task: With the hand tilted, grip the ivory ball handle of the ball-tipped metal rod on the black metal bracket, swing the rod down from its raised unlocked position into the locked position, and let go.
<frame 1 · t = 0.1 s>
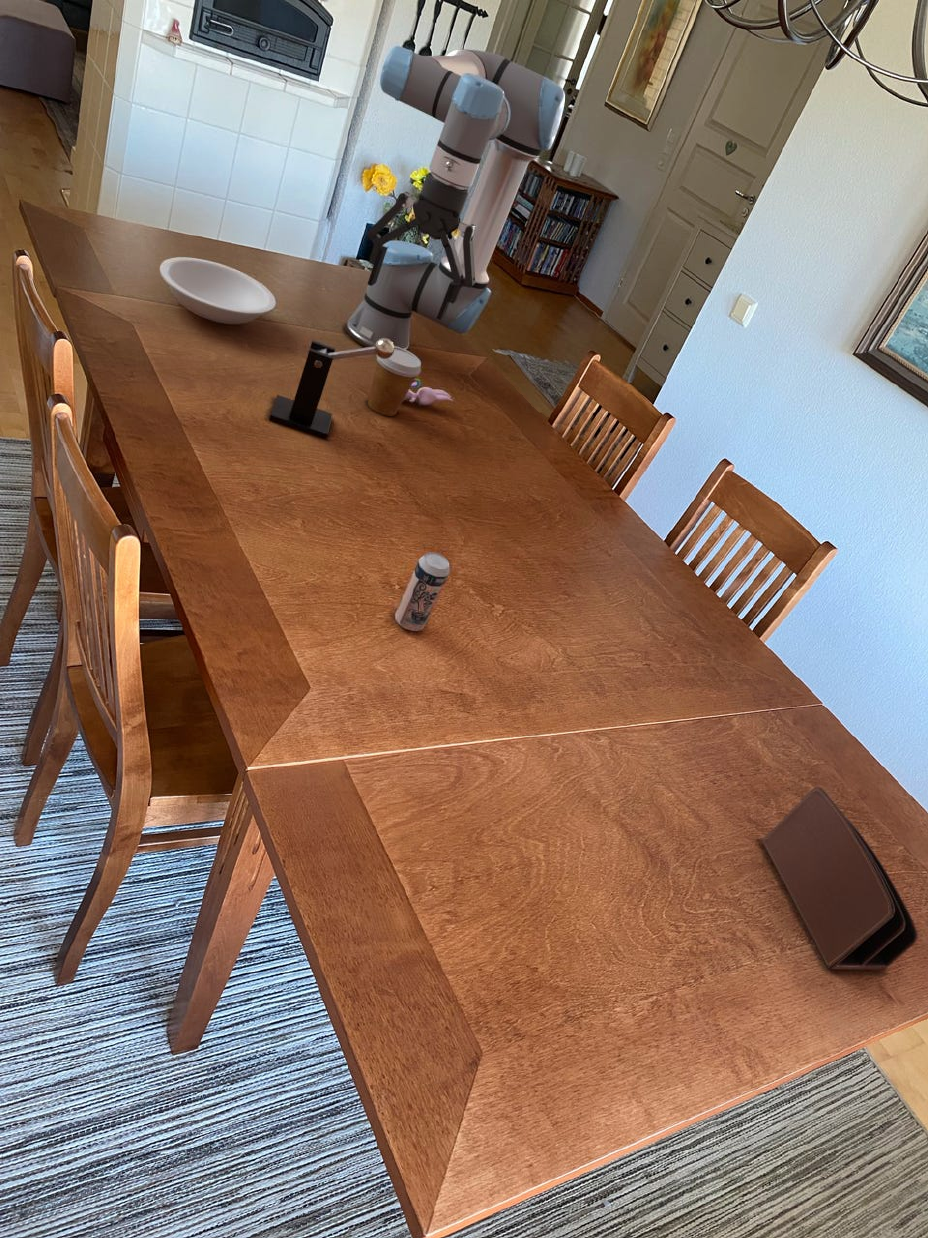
hand: (405, 300, 165), 28 cm above the table, tool pointing down, fingers open, 13 cm apart
ball-tipped metal rod: (353, 353, 168), point 16 cm above the table, hinge at 30.0°
rabbit figure: (416, 404, 202), on the table
disposable coffee cup: (381, 408, 194), on the table
soup bowl: (212, 314, 197), on the table
bracket: (300, 419, 176), on the table
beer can: (408, 623, 140), on the table
letter holder: (818, 904, 127), on the table
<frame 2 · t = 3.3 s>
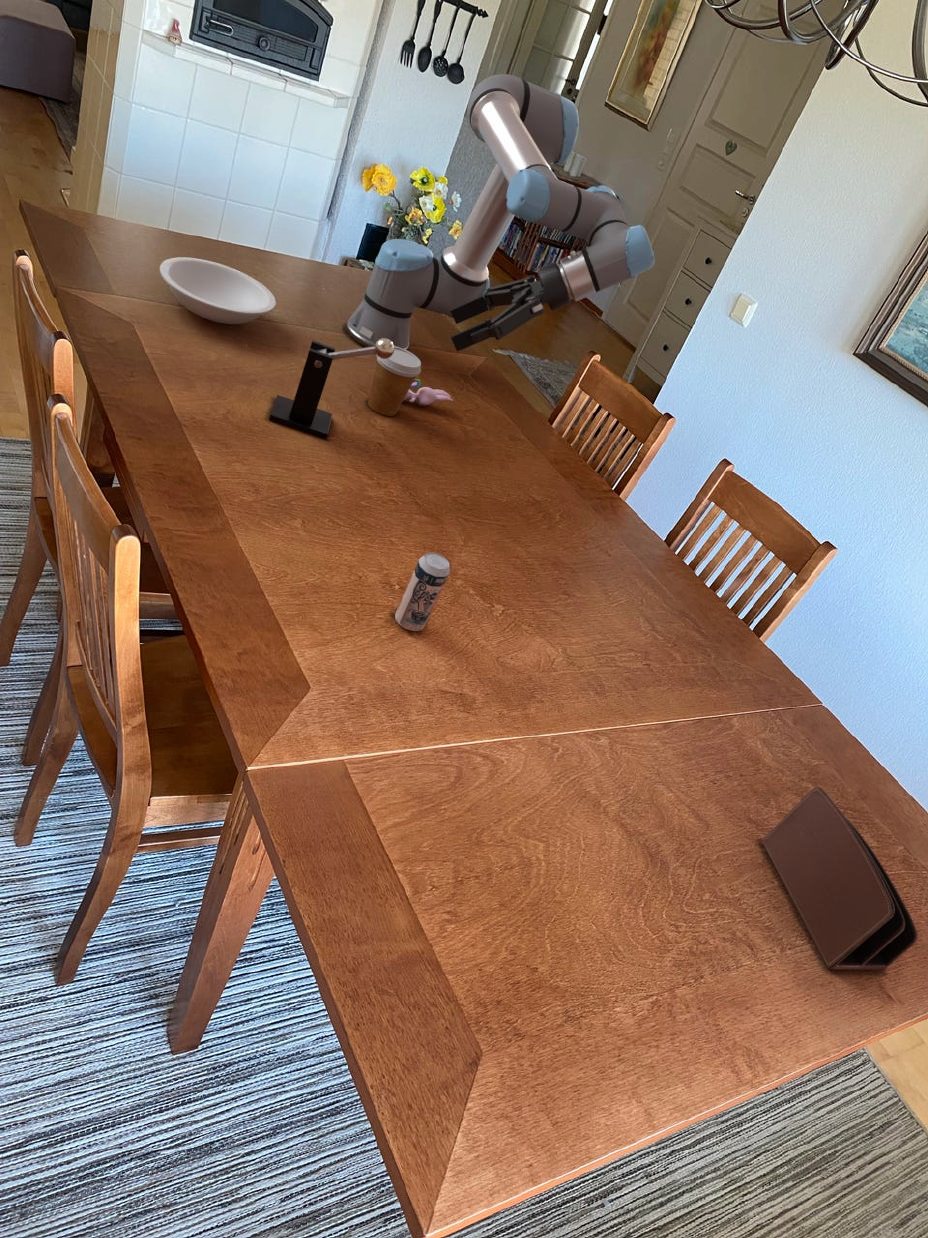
hand: (453, 329, 166), 27 cm above the table, tool tilted 45°, fingers open, 13 cm apart
nothing on the table moved.
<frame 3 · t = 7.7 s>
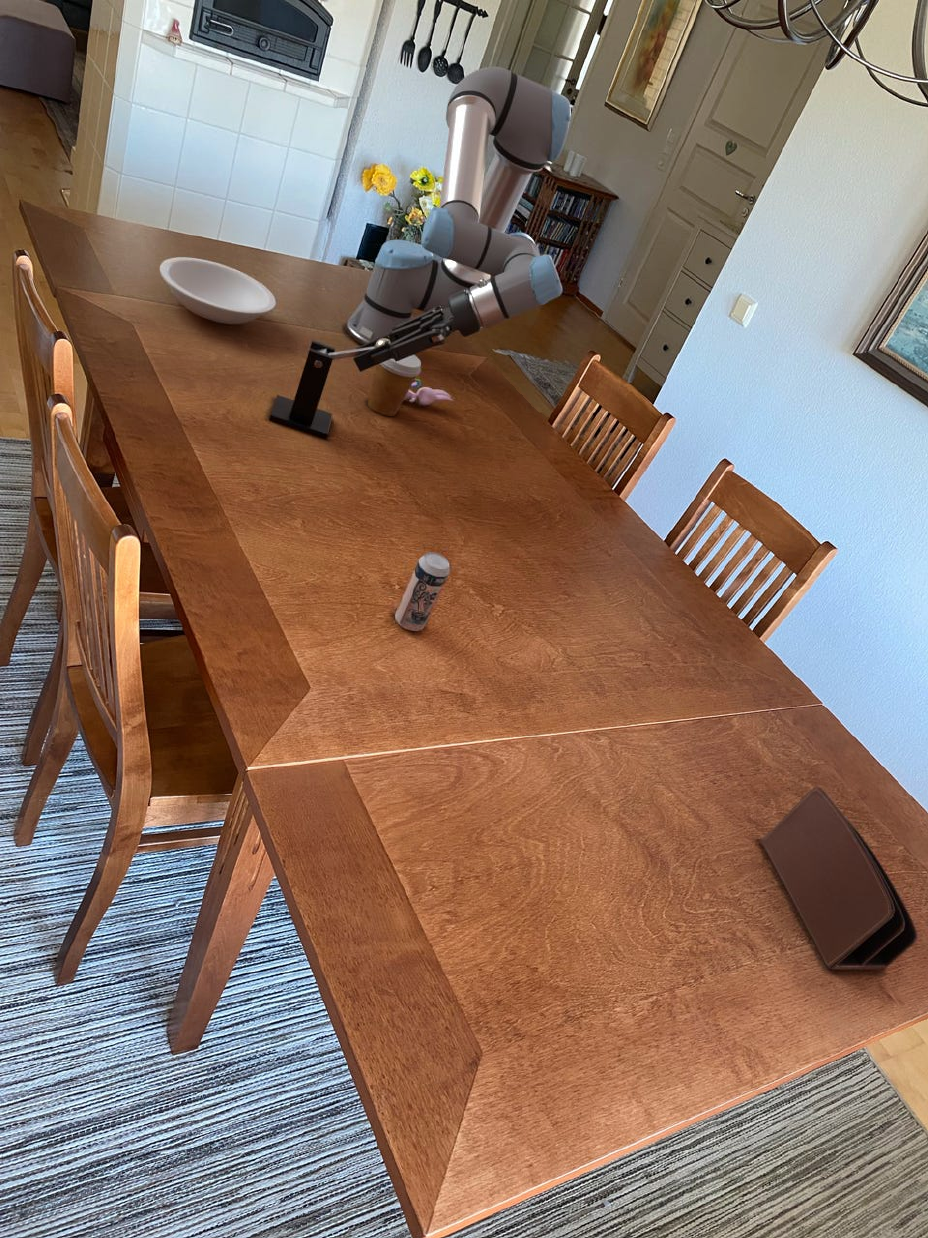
hand: (357, 359, 169), 15 cm above the table, tool tilted 45°, fingers closed on ball-tipped metal rod, 4 cm apart
ball-tipped metal rod: (353, 353, 168), point 16 cm above the table, hinge at 30.0°, touching gripper
everything else where it was.
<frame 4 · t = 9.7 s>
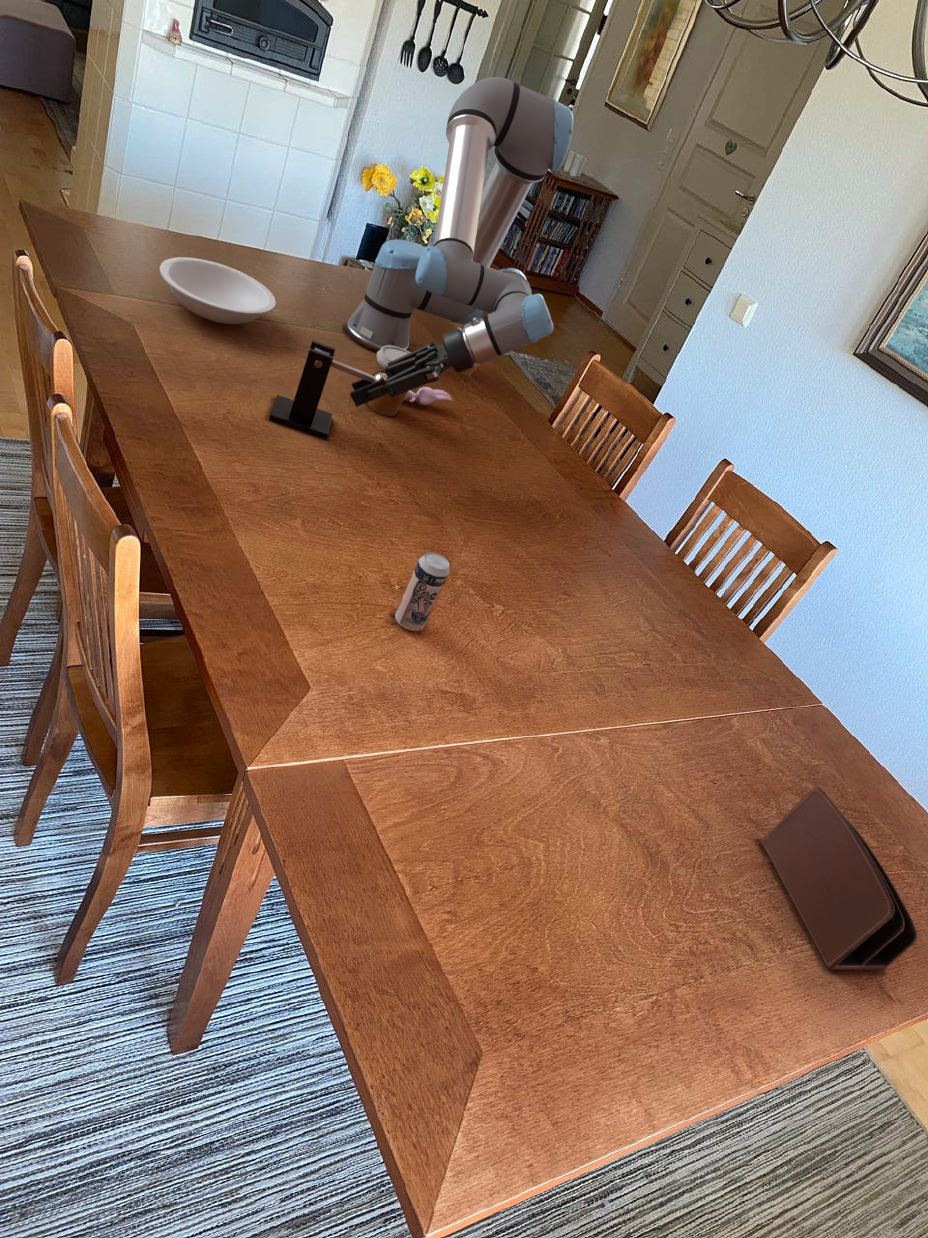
hand: (354, 394, 173), 8 cm above the table, tool tilted 45°, fingers closed on ball-tipped metal rod, 4 cm apart
ball-tipped metal rod: (352, 370, 170), point 13 cm above the table, hinge at -1.9°, touching gripper
everything else where it was.
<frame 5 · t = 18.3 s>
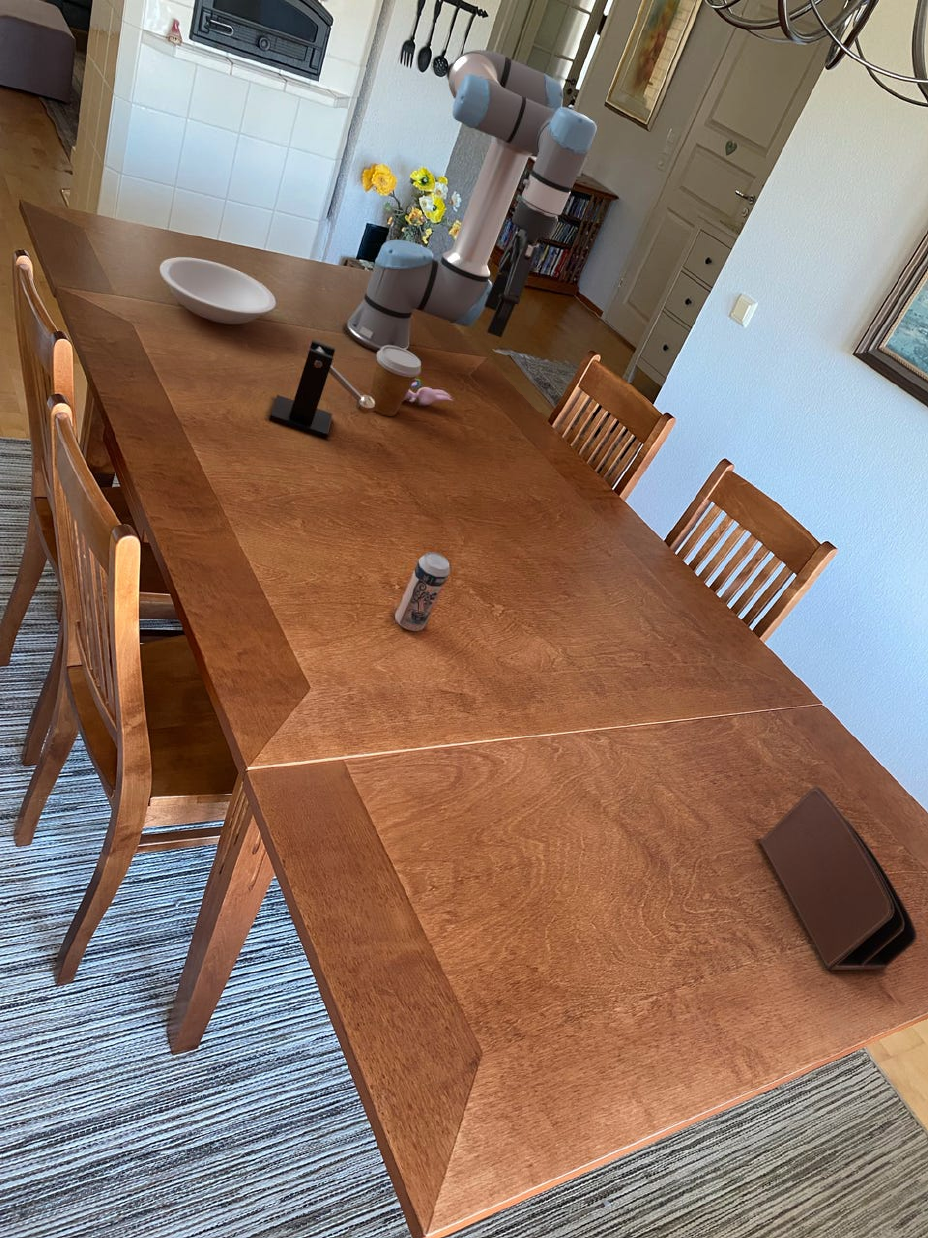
hand: (492, 321, 172), 29 cm above the table, tool pointing down, fingers open, 13 cm apart
ball-tipped metal rod: (343, 382, 172), point 10 cm above the table, hinge at -27.9°
everything else where it was.
at the end: ball-tipped metal rod at -28° (first picture: +30°); the gripper is holding nothing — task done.
